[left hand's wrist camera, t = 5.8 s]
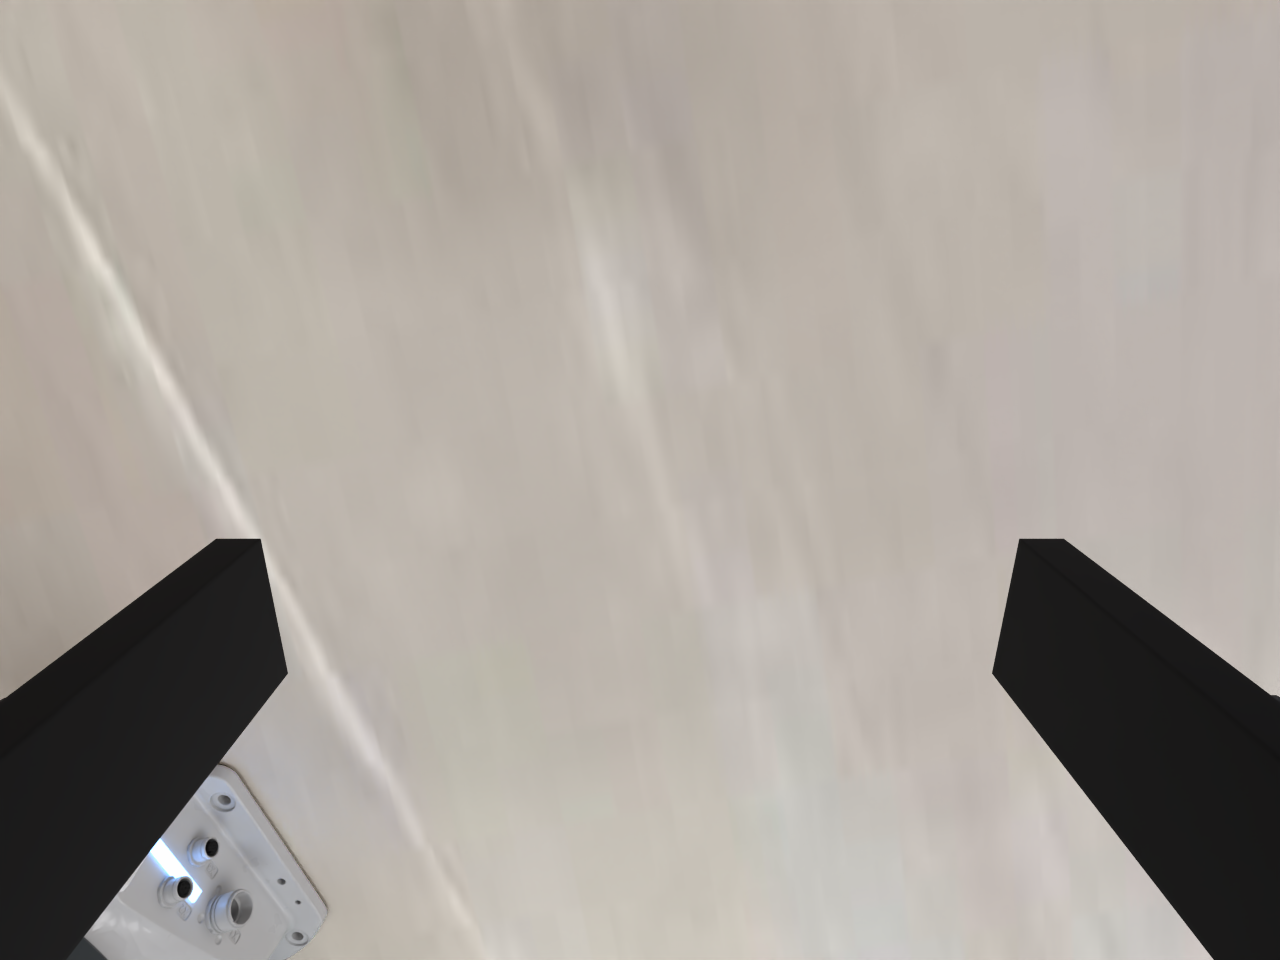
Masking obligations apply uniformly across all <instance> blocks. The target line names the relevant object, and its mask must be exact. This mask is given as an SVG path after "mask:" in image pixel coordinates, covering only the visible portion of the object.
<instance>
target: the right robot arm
mask: <svg viewBox="0 0 1280 960" xmlns="http://www.w3.org/2000/svg"><path fill="white" fill-rule="evenodd" d="M327 913H328V911H327V908H326V906H325V904H324V902H323V901H322V899H321V898H320V896H319V895H318V893H317V892H316V890H315V889H314V887H313V886H312V884H311V883H310V881H309V880H308V878H307V877H306V875H305V874H304V872H303V871H302V869H301V868H300V866H299V865H298V864H297V862H296V861H295V859H294V858H293V856H292V855H291V853H290V852H289V850H288V849H287V847H286V846H285V844H284V843H283V841H282V840H281V838H280V837H279V835H278V834H277V832H276V831H275V829H274V828H273V826H272V825H271V823H270V822H269V820H268V819H267V817H266V816H265V814H264V813H263V811H262V810H261V808H260V807H259V805H258V804H257V802H256V801H255V800H254V798H253V797H252V795H251V794H250V792H249V791H248V789H247V788H246V786H245V785H244V783H243V782H242V780H241V779H240V777H239V776H238V774H237V773H236V772H235V771H234V770H232V769H231V768H229V767H226V766H223V765H218V764H217V766H216V767H215V768H214V769H213V771H212V772H211V773H210V775H209V776H208V777H207V779H206V780H205V781H204V782H203V784H202V785H201V786H200V788H199V789H198V790H197V791H196V793H195V794H194V795H193V797H192V798H191V799H190V800H189V802H188V803H187V804H186V806H185V807H184V808H183V810H182V811H181V812H180V813H179V815H178V816H177V817H176V819H175V820H174V821H173V822H172V824H171V825H170V826H169V828H168V829H167V830H166V831H165V833H164V834H163V835H162V837H161V838H160V839H159V841H158V842H157V843H156V844H155V846H154V847H153V848H152V850H151V851H150V852H149V853H148V855H147V856H146V857H145V859H144V860H143V861H142V862H141V864H140V865H139V866H138V868H137V869H136V870H135V872H134V873H133V874H132V875H131V877H130V878H129V879H128V881H127V882H126V883H125V884H124V886H123V887H122V888H121V890H120V891H119V892H118V893H117V895H116V896H115V897H114V899H113V900H112V901H111V903H110V904H109V905H108V906H107V908H106V909H105V910H104V912H103V913H102V914H101V915H100V917H99V918H98V919H97V921H96V922H95V923H94V924H93V926H92V927H91V928H90V930H89V931H88V932H87V934H86V935H85V936H84V937H83V939H82V940H81V941H80V943H79V944H78V945H77V946H76V948H75V949H74V950H73V952H72V953H71V954H70V955H69V957H68V958H67V959H66V960H286V959H288V958H289V957H291V956H292V955H294V954H296V953H297V952H298V951H300V950H301V949H302V948H304V947H305V946H306V945H307V944H308V943H309V942H310V941H311V940H312V939H313V938H314V936H315V935H316V934H317V932H318V930H319V929H320V927H321V925H322V923H323V922H324V920H325V918H326V916H327Z"/></svg>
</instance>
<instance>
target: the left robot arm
mask: <svg viewBox="0 0 1280 960" xmlns="http://www.w3.org/2000/svg"><path fill="white" fill-rule="evenodd" d="M287 674H288V672H287V667H286V662H285V657H284V652H283V647H282V642H281V637H280V632H279V627H278V622H277V617H276V612H275V608H274V603H273V598H272V593H271V588H270V583H269V578H268V573H267V568H266V563H265V558H264V553H263V548H262V543H261V539H215V540H214V541H213V542H211V543H210V544H209V545H207V546H206V547H205V548H203V549H202V550H201V551H200V552H198V553H197V554H196V555H194V556H193V557H192V558H190V559H189V560H188V561H186V562H185V563H184V564H182V565H181V566H180V567H178V568H177V569H176V570H174V571H173V572H172V573H170V574H169V575H168V576H166V577H165V578H164V579H162V580H161V581H160V582H158V583H157V584H156V585H155V586H153V587H152V588H151V589H149V590H148V591H147V592H145V593H144V594H143V595H141V596H140V597H139V598H137V599H136V600H135V601H133V602H132V603H131V604H129V605H128V606H127V607H125V608H124V609H123V610H121V611H120V612H119V613H117V614H116V615H115V616H114V617H112V618H111V619H110V620H108V621H107V622H106V623H104V624H103V625H102V626H100V627H99V628H98V629H96V630H95V631H94V632H92V633H91V634H90V635H88V636H87V637H86V638H84V639H83V640H82V641H80V642H79V643H78V644H76V645H75V646H74V647H72V648H71V649H70V650H69V651H67V652H66V653H65V654H63V655H62V656H61V657H59V658H58V659H57V660H55V661H54V662H53V663H51V664H50V665H49V666H47V667H46V668H45V669H43V670H42V671H41V672H39V673H38V674H37V675H35V676H34V677H33V678H31V679H30V680H29V681H27V682H26V683H25V684H24V685H22V686H21V687H20V688H18V689H17V690H16V691H14V692H13V693H12V694H10V695H9V696H8V697H6V698H4V699H2V700H0V960H66V959H67V958H68V957H69V955H70V954H71V953H72V952H73V950H74V949H75V948H76V946H77V945H78V944H79V943H80V941H81V940H82V939H83V937H84V936H85V935H86V934H87V932H88V931H89V930H90V928H91V927H92V926H93V924H94V923H95V922H96V921H97V919H98V918H99V917H100V915H101V914H102V913H103V912H104V910H105V909H106V908H107V906H108V905H109V904H110V903H111V901H112V900H113V899H114V897H115V896H116V895H117V893H118V892H119V891H120V890H121V888H122V887H123V886H124V884H125V883H126V882H127V881H128V879H129V878H130V877H131V875H132V874H133V873H134V872H135V870H136V869H137V868H138V866H139V865H140V864H141V862H142V861H143V860H144V859H145V857H146V856H147V855H148V853H149V852H150V851H151V850H152V848H153V847H154V846H155V844H156V843H157V842H158V841H159V839H160V838H161V837H162V835H163V834H164V833H165V831H166V830H167V829H168V828H169V826H170V825H171V824H172V822H173V821H174V820H175V819H176V817H177V816H178V815H179V813H180V812H181V811H182V810H183V808H184V807H185V806H186V804H187V803H188V802H189V800H190V799H191V798H192V797H193V795H194V794H195V793H196V791H197V790H198V789H199V788H200V786H201V785H202V784H203V782H204V781H205V780H206V779H207V777H208V776H209V775H210V773H211V772H212V771H213V769H214V768H215V767H216V766H217V764H218V763H219V762H220V760H221V759H222V758H223V757H224V755H225V754H226V753H227V751H228V750H229V749H230V748H231V746H232V745H233V744H234V742H235V741H236V740H237V738H238V737H239V736H240V735H241V733H242V732H243V731H244V729H245V728H246V727H247V726H248V724H249V723H250V722H251V720H252V719H253V718H254V717H255V715H256V714H257V713H258V711H259V710H260V709H261V707H262V706H263V705H264V704H265V702H266V701H267V700H268V698H269V697H270V696H271V695H272V693H273V692H274V691H275V689H276V688H277V687H278V686H279V684H280V683H281V682H282V680H283V679H284V678H285V676H286V675H287ZM992 674H993V675H994V676H995V678H996V679H997V680H998V682H999V683H1000V684H1001V686H1002V687H1003V688H1004V689H1005V691H1006V692H1007V693H1008V695H1009V696H1010V697H1011V698H1012V700H1013V701H1014V702H1015V704H1016V705H1017V706H1018V707H1019V709H1020V710H1021V711H1022V713H1023V714H1024V715H1025V717H1026V718H1027V719H1028V720H1029V722H1030V723H1031V724H1032V726H1033V727H1034V728H1035V729H1036V731H1037V732H1038V733H1039V735H1040V736H1041V737H1042V738H1043V740H1044V741H1045V742H1046V744H1047V745H1048V746H1049V748H1050V749H1051V750H1052V751H1053V753H1054V754H1055V755H1056V757H1057V758H1058V759H1059V760H1060V762H1061V763H1062V764H1063V766H1064V767H1065V768H1066V769H1067V771H1068V772H1069V773H1070V775H1071V776H1072V777H1073V779H1074V780H1075V781H1076V782H1077V784H1078V785H1079V786H1080V788H1081V789H1082V790H1083V791H1084V793H1085V794H1086V795H1087V797H1088V798H1089V799H1090V800H1091V802H1092V803H1093V804H1094V806H1095V807H1096V808H1097V810H1098V811H1099V812H1100V813H1101V815H1102V816H1103V817H1104V819H1105V820H1106V821H1107V822H1108V824H1109V825H1110V826H1111V828H1112V829H1113V830H1114V831H1115V833H1116V834H1117V835H1118V837H1119V838H1120V839H1121V841H1122V842H1123V843H1124V844H1125V846H1126V847H1127V848H1128V850H1129V851H1130V852H1131V853H1132V855H1133V856H1134V857H1135V859H1136V860H1137V861H1138V862H1139V864H1140V865H1141V866H1142V868H1143V869H1144V870H1145V872H1146V873H1147V874H1148V875H1149V877H1150V878H1151V879H1152V881H1153V882H1154V883H1155V884H1156V886H1157V887H1158V888H1159V890H1160V891H1161V892H1162V893H1163V895H1164V896H1165V897H1166V899H1167V900H1168V901H1169V903H1170V904H1171V905H1172V906H1173V908H1174V909H1175V910H1176V912H1177V913H1178V914H1179V915H1180V917H1181V918H1182V919H1183V921H1184V922H1185V923H1186V924H1187V926H1188V927H1189V928H1190V930H1191V931H1192V932H1193V934H1194V935H1195V936H1196V937H1197V939H1198V940H1199V941H1200V943H1201V944H1202V945H1203V946H1204V948H1205V949H1206V950H1207V952H1208V953H1209V954H1210V955H1211V957H1212V958H1213V959H1214V960H1280V697H1278V696H1277V695H1270V694H1268V693H1267V692H1266V691H1264V690H1263V689H1262V688H1260V687H1259V686H1258V685H1256V684H1255V683H1254V682H1252V681H1251V680H1250V679H1249V678H1247V677H1246V676H1245V675H1243V674H1242V673H1241V672H1239V671H1238V670H1237V669H1235V668H1234V667H1233V666H1231V665H1230V664H1229V663H1227V662H1226V661H1225V660H1223V659H1222V658H1221V657H1219V656H1218V655H1217V654H1215V653H1214V652H1213V651H1211V650H1210V649H1209V648H1208V647H1206V646H1205V645H1204V644H1202V643H1201V642H1200V641H1198V640H1197V639H1196V638H1194V637H1193V636H1192V635H1190V634H1189V633H1188V632H1186V631H1185V630H1184V629H1182V628H1181V627H1180V626H1178V625H1177V624H1176V623H1174V622H1173V621H1172V620H1170V619H1169V618H1168V617H1166V616H1165V615H1164V614H1163V613H1161V612H1160V611H1159V610H1157V609H1156V608H1155V607H1153V606H1152V605H1151V604H1149V603H1148V602H1147V601H1145V600H1144V599H1143V598H1141V597H1140V596H1139V595H1137V594H1136V593H1135V592H1133V591H1132V590H1131V589H1129V588H1128V587H1127V586H1125V585H1124V584H1123V583H1122V582H1120V581H1119V580H1118V579H1116V578H1115V577H1114V576H1112V575H1111V574H1110V573H1108V572H1107V571H1106V570H1104V569H1103V568H1102V567H1100V566H1099V565H1098V564H1096V563H1095V562H1094V561H1092V560H1091V559H1090V558H1088V557H1087V556H1086V555H1084V554H1083V553H1082V552H1080V551H1079V550H1078V549H1077V548H1075V547H1074V546H1073V545H1071V544H1070V543H1069V542H1067V541H1066V540H1065V539H1019V543H1018V548H1017V553H1016V558H1015V563H1014V568H1013V573H1012V578H1011V583H1010V588H1009V593H1008V598H1007V603H1006V608H1005V612H1004V617H1003V622H1002V627H1001V632H1000V637H999V642H998V647H997V652H996V657H995V662H994V667H993V672H992Z"/></svg>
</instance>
